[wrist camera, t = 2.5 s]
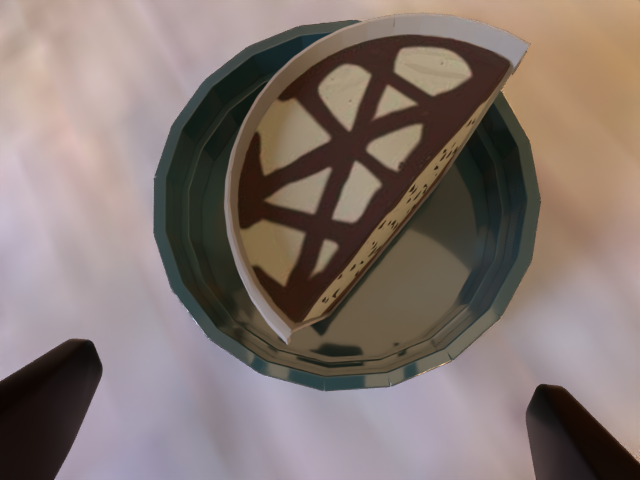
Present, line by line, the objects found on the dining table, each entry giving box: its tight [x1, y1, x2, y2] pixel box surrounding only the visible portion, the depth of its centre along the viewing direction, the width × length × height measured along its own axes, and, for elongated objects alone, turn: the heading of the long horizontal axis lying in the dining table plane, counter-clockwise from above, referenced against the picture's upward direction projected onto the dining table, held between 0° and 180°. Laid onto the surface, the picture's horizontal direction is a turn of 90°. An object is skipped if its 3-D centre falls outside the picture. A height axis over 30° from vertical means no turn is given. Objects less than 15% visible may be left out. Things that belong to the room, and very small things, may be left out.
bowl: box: [153, 20, 541, 391], centre depth 21 cm, size 17×17×4 cm
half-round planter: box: [224, 13, 530, 345], centre depth 18 cm, size 12×6×10 cm, turn 140°
